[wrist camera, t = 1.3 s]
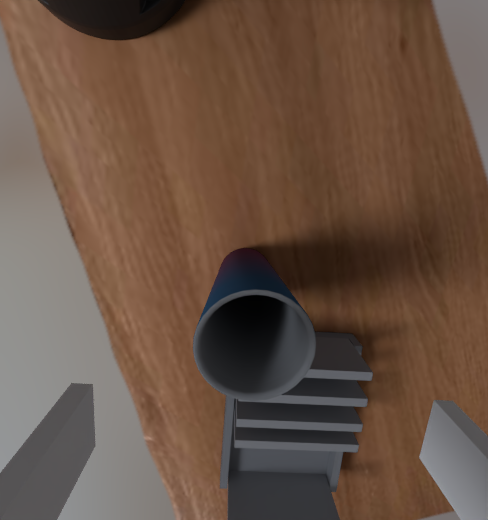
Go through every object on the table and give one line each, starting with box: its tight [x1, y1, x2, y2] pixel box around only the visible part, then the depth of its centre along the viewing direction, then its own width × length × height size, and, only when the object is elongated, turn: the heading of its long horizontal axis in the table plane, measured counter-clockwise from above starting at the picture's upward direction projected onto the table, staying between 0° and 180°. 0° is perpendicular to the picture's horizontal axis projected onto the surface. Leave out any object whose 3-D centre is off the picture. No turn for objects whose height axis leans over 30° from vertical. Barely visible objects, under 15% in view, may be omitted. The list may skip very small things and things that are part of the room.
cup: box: [193, 248, 316, 401], centre depth 25 cm, size 7×7×15 cm
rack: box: [220, 332, 373, 520], centre depth 32 cm, size 18×13×7 cm
